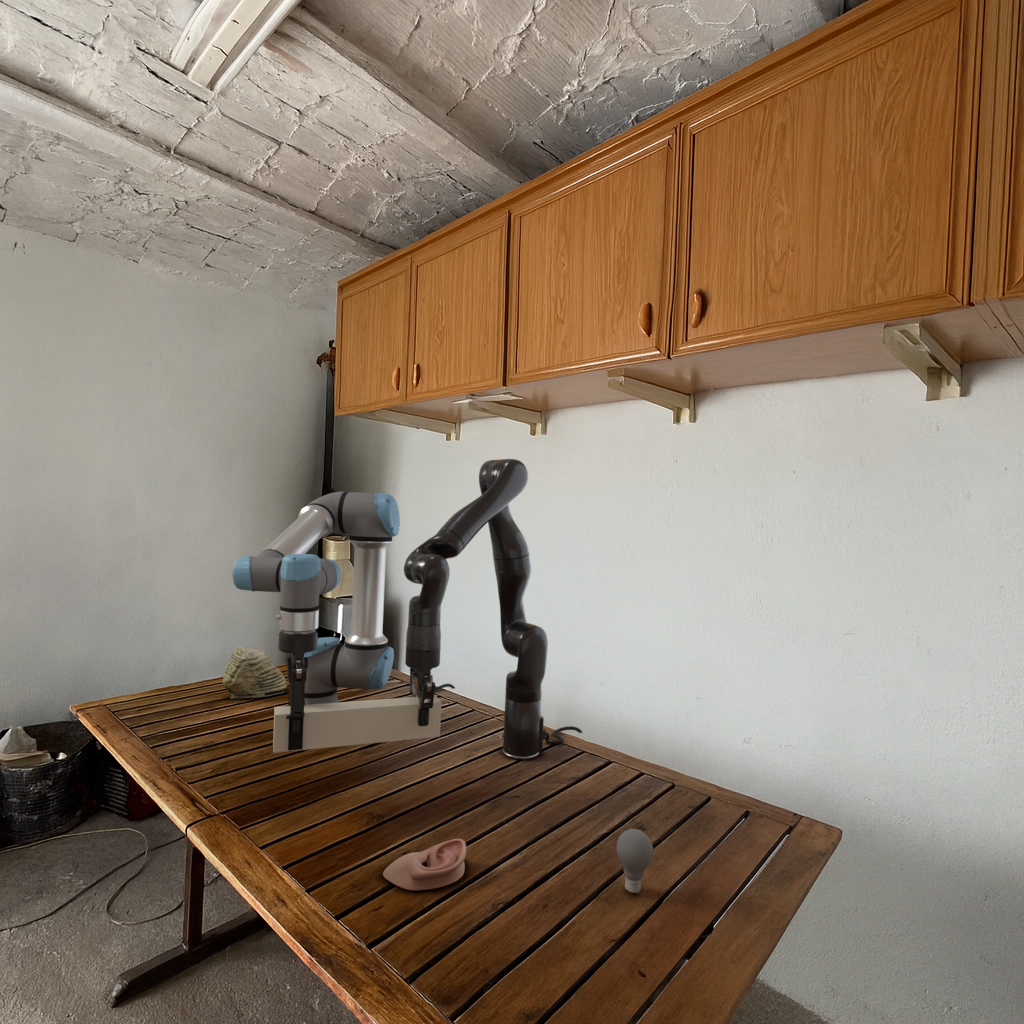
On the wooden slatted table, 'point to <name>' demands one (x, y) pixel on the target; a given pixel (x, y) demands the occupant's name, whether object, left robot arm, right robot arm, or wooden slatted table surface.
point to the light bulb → (634, 857)
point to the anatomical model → (429, 867)
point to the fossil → (252, 674)
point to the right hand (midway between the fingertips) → (420, 720)
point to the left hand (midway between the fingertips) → (294, 743)
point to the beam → (357, 723)
